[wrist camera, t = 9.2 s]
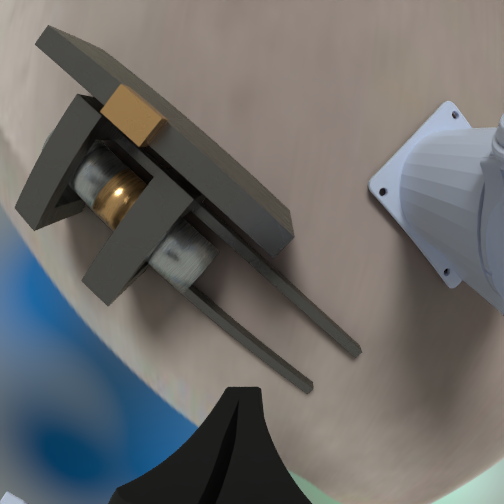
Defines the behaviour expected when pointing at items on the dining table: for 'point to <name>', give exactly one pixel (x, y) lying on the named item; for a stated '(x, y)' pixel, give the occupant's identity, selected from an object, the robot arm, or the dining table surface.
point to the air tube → (121, 200)
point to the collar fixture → (158, 188)
